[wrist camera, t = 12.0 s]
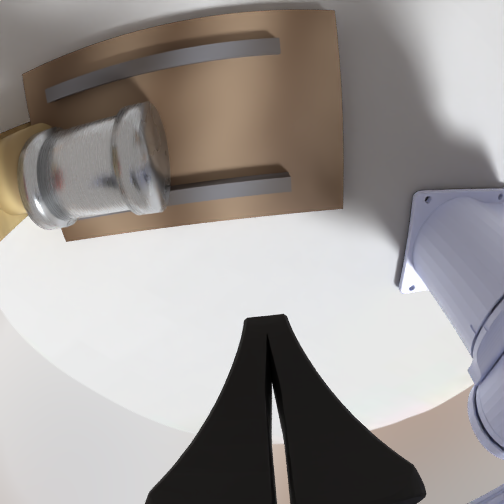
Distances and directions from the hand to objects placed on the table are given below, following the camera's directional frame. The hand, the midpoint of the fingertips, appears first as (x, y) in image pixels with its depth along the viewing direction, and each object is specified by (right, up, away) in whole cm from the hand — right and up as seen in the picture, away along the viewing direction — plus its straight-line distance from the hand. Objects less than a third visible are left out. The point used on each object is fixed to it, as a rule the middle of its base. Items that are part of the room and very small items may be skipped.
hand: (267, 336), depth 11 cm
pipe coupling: (-8, +9, +4) cm, 12 cm away
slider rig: (-7, +9, +5) cm, 13 cm away
